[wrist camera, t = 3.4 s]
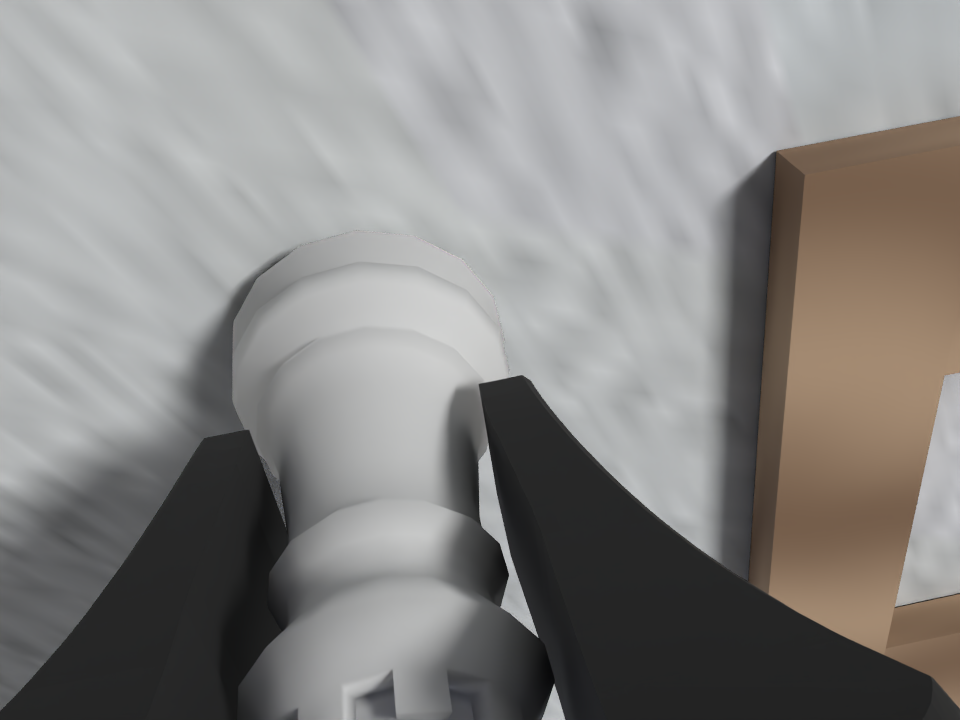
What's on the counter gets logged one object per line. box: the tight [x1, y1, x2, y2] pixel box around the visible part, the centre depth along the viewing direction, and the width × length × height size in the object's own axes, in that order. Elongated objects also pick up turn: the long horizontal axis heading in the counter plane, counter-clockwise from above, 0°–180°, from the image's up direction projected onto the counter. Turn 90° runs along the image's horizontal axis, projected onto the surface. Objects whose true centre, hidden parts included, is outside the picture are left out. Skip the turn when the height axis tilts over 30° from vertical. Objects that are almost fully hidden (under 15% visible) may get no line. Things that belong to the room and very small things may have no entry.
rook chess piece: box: [232, 230, 555, 720], centre depth 11 cm, size 4×4×8 cm
